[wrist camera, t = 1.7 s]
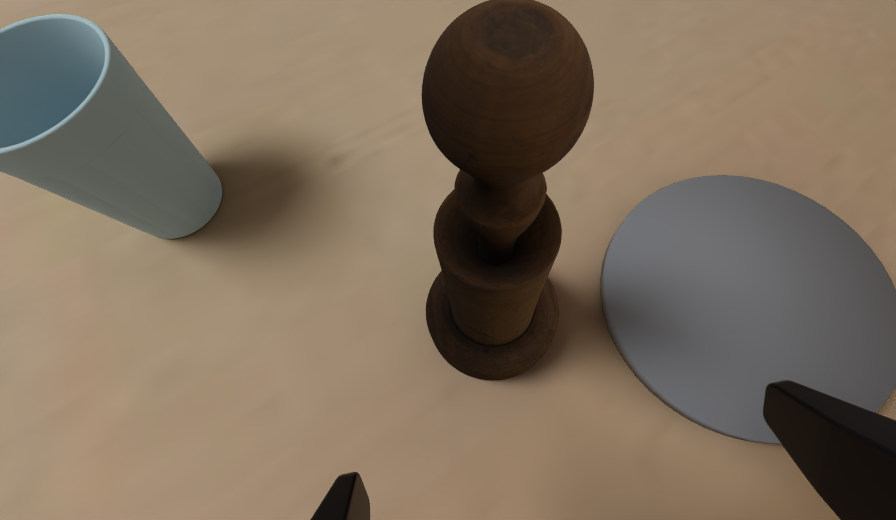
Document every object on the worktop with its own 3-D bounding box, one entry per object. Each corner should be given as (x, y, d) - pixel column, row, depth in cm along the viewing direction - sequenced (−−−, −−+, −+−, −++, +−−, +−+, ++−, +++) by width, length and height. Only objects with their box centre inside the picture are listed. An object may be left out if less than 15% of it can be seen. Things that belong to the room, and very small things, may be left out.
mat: (955, 357, 21) (977, 354, 20) (715, 500, 19) (727, 503, 18) (752, 148, 26) (762, 138, 25) (551, 248, 24) (554, 241, 23)
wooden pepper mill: (526, 248, 24) (618, -141, 8) (572, 356, 22) (854, 128, 5) (416, 284, 24) (266, -40, 7) (451, 398, 22) (345, 294, 5)
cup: (189, 132, 30) (46, -11, 20) (264, 186, 27) (145, 55, 18) (101, 213, 28) (-104, 98, 18) (174, 277, 25) (-13, 186, 16)
